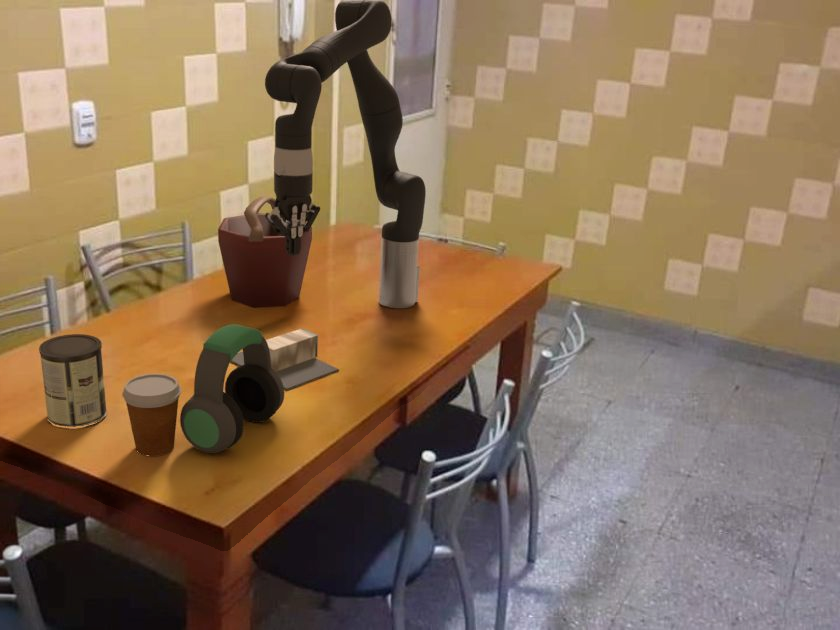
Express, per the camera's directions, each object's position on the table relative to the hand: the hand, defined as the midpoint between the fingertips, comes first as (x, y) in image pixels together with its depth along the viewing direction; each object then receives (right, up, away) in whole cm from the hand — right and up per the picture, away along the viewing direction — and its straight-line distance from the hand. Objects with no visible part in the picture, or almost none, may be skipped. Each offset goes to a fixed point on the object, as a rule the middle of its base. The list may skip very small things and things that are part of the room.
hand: (293, 254), depth 181 cm
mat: (-3, -23, +7) cm, 24 cm away
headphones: (-7, -34, -21) cm, 41 cm away
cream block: (+2, -18, +11) cm, 21 cm away
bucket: (-14, -8, +44) cm, 47 cm away
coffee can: (-37, -31, -19) cm, 51 cm away
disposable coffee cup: (-20, -35, -28) cm, 49 cm away
